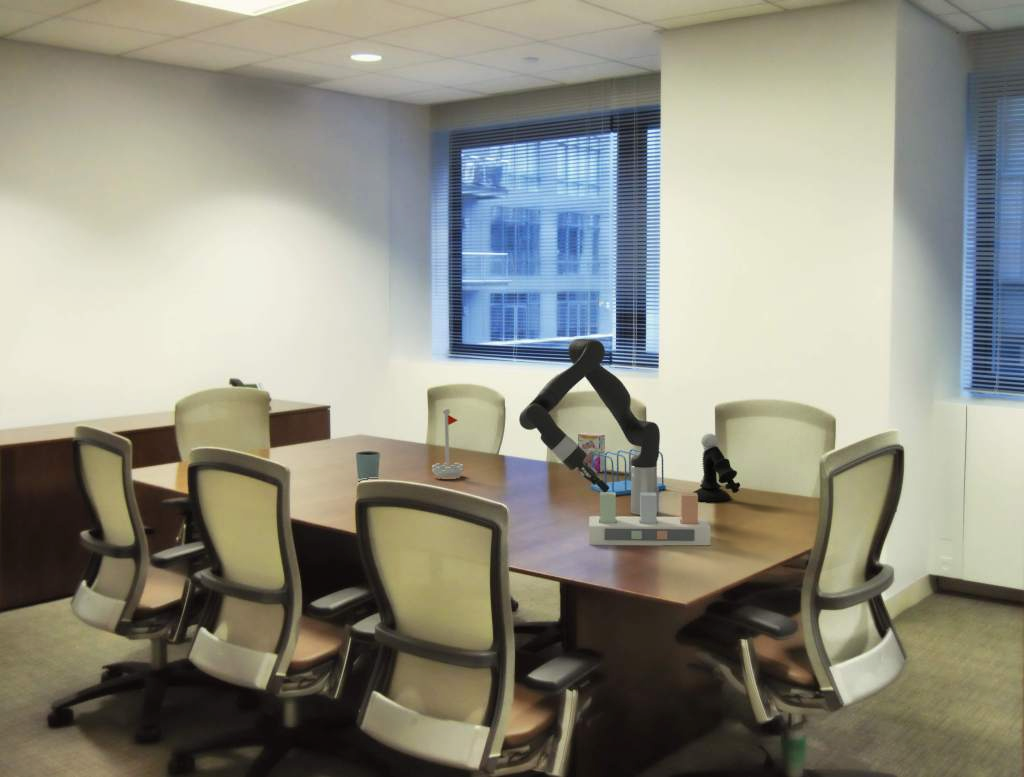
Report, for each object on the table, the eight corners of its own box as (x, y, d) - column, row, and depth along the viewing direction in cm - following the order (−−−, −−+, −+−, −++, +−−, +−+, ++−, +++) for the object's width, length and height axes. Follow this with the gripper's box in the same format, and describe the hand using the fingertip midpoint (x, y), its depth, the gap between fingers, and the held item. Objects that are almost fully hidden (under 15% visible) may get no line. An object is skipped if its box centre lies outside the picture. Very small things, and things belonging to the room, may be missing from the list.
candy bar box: (577, 470, 457) (577, 433, 455) (582, 469, 461) (582, 432, 460) (600, 473, 451) (600, 435, 449) (605, 471, 455) (605, 434, 454)
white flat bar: (588, 545, 329) (588, 526, 328) (589, 534, 343) (589, 516, 343) (710, 546, 325) (710, 527, 325) (705, 535, 340) (706, 517, 339)
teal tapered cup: (353, 479, 443) (352, 452, 441) (376, 477, 447) (375, 450, 446) (360, 483, 434) (359, 455, 432) (383, 481, 438) (383, 453, 437)
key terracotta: (681, 526, 331) (682, 495, 330) (680, 523, 336) (680, 492, 335) (697, 526, 330) (697, 495, 329) (696, 523, 335) (696, 492, 334)
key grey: (640, 526, 332) (640, 495, 331) (640, 522, 337) (640, 492, 336) (656, 526, 331) (656, 495, 330) (655, 522, 336) (655, 492, 335)
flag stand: (427, 479, 441) (426, 409, 438) (438, 474, 454) (437, 405, 451) (456, 480, 438) (455, 410, 435) (467, 475, 450) (465, 406, 447)
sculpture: (714, 493, 406) (714, 430, 403) (753, 504, 385) (754, 437, 382) (682, 497, 399) (682, 433, 396) (720, 509, 378) (721, 441, 375)
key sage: (600, 526, 333) (599, 495, 332) (600, 522, 338) (600, 492, 337) (615, 526, 333) (615, 495, 332) (615, 522, 338) (615, 492, 336)
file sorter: (642, 483, 429) (642, 446, 427) (666, 490, 413) (666, 452, 412) (589, 488, 418) (589, 451, 417) (611, 496, 403) (611, 457, 401)
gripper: (576, 447, 327) (615, 486, 327) (577, 441, 340) (615, 478, 340) (559, 464, 328) (599, 502, 328) (561, 457, 341) (599, 494, 341)
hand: (607, 490), depth 334 cm, fingers closed
